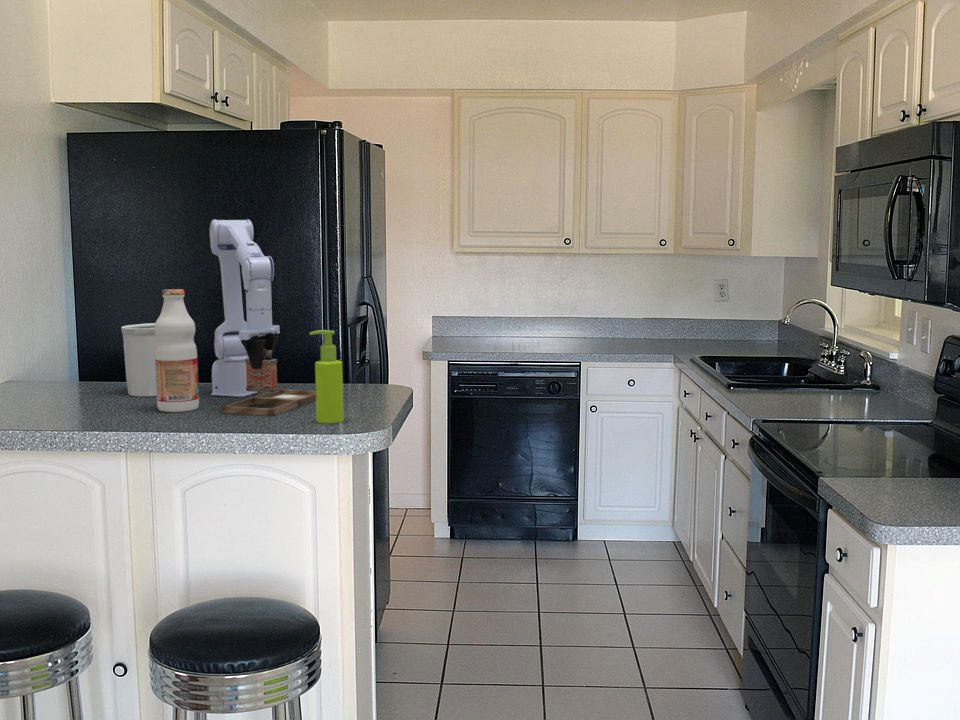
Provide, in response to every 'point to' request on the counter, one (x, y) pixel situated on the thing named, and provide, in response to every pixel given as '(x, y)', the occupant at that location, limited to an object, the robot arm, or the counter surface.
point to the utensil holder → (140, 359)
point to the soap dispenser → (328, 382)
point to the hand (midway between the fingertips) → (261, 367)
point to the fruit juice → (176, 356)
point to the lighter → (262, 374)
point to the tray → (272, 402)
